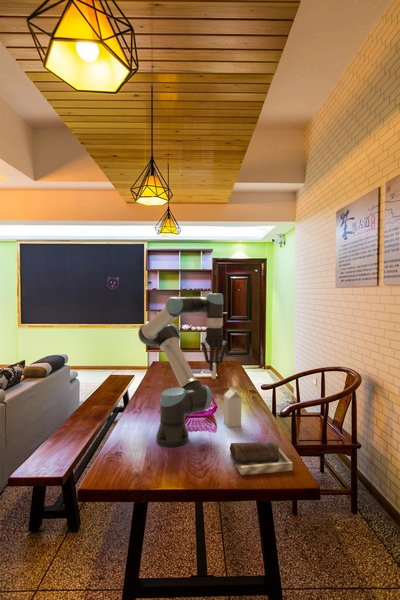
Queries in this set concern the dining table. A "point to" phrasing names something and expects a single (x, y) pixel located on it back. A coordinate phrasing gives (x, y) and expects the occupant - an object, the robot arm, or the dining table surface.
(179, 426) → the robot arm
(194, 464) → the dining table surface
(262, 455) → the candle
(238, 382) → the dining table surface
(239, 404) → the milk carton
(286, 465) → the tray
